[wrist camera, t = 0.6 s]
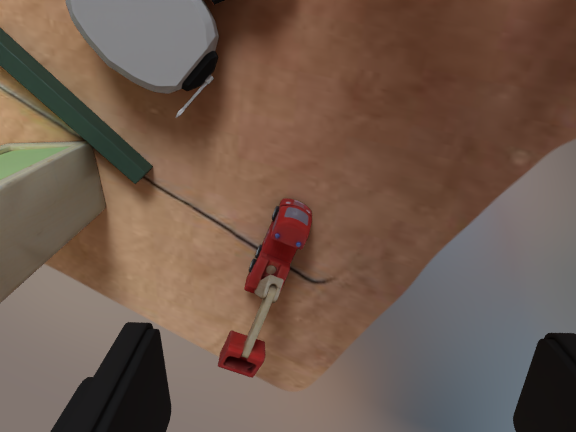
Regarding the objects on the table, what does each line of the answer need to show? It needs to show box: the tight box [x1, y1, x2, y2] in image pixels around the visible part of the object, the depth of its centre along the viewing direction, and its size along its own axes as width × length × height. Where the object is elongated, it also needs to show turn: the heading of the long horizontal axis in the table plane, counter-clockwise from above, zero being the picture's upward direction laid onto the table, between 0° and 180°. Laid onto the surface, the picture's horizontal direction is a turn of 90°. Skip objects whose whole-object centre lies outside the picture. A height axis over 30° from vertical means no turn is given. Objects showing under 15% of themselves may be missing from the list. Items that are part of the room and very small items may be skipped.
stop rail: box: [0, 28, 153, 184], centre depth 34 cm, size 2×16×2 cm, turn 43°
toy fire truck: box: [218, 199, 312, 377], centre depth 36 cm, size 3×14×10 cm, turn 157°
